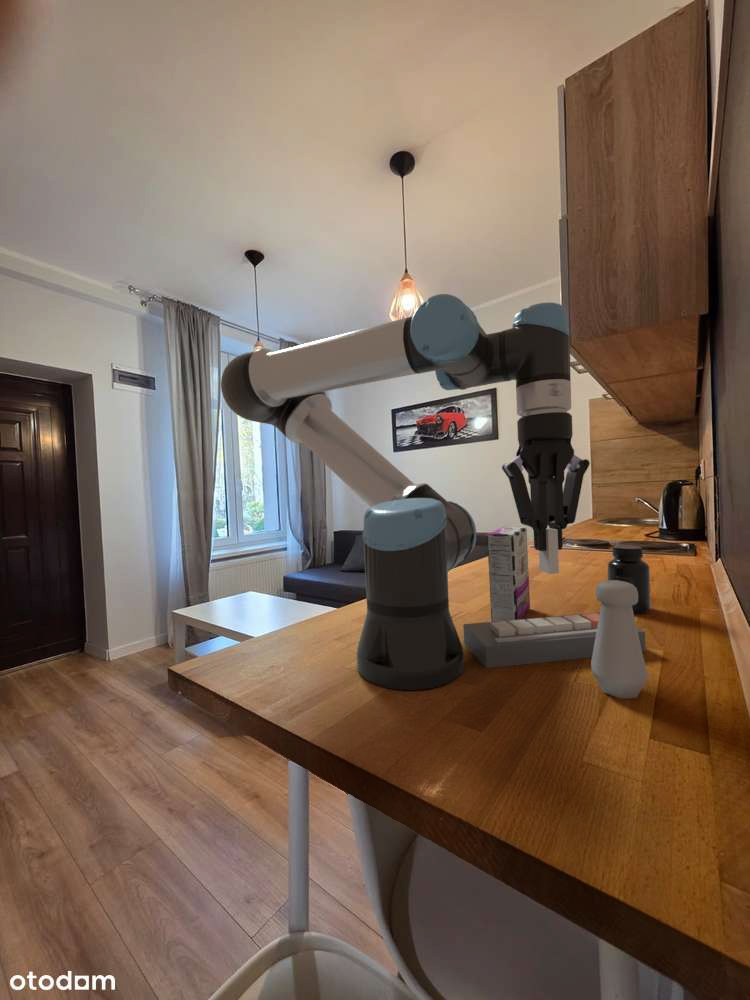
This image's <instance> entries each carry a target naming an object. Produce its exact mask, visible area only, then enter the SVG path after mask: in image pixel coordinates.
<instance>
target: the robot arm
mask: <svg viewBox="0 0 750 1000" xmlns="http://www.w3.org/2000/svg"><path fill="white" fill-rule="evenodd" d="M570 335H571V334H570V326H569V313H568V311H567V309H566V307H565V306H563V305H562V304H560V303H556V302H540V303H535V304H532V305H530V306H529V307H527V308H523V309H521V310H520V311H518V312H517V313H516V314H515V316H514V318H513V324H512V328H508V329H505V330H501V331H498V332H493V333H486V332H485V330H484V329H483V327H482V326H481V325H480V322H479V321H478V318H477V316H476V315H475V312H474V311H473V310H472V309H471V307H469V306H468V305H466V304H465V302H464V301H462V300H461V299H460V298H459V297H457V296H456V295H453V294H448V293H440V294H436V295H433V296H430V297H429V298H427V299H426V300H425V301H423V303H422V304H420V305H419V306H418V307H417V309H416V310H415V311H414V314H413V315H412V316H408V317H403V318H399V319H397V320H392V321H388V322H385V323H381V324H377V325H373V326H368V327H366V328H365V327H364V328H361V329H358V330H354V331H350V332H346V333H342V334H339V335H338V334H337V335H335V336H331V337H328V338H323V339H319V340H315V341H311V342H307V343H304V344H299V345H296V346H293V347H288V348H285V349H280V350H277V351H274V350H272V349H270V348H268V347H267V348H265V347H262V348H258V349H255V350H250V351H247V352H244V353H241V354H240V355H238V356H237V355H236V356H235V358H233V359H231V361H229V362H228V364H227V365H225V368H224V370H223V372H222V376H221V379H220V380H221V381H220V389H221V394H222V397H223V400H224V401H225V403H226V405H227V406H228V407H229V408H230V410H231V411H232V412H233V413H234V414H236V415H237V416H239V417H240V418H243V419H245V420H247V421H251V422H257V423H262V424H268V425H271V426H274V427H275V428H277V430H278V431H279V432H280V433H281V434H282V435H284V436H285V438H287V440H288V441H290V442H292V443H293V444H301V443H303V444H304V446H306V447H307V448H308V449H309V450H310V451H311V452H312V453H313V454H314V455H315V456H316V457H317V458H319V460H321V462H322V463H324V464H325V466H327V468H329V469H330V470H331V471H332V472H333V473H334V474H335V475H336V476H337V477H338V478H339V479H340V480H342V482H343V483H345V485H347V486H348V487H349V488H350V489H351V491H353V492H354V493H355V494H356V495H357V496H358V497H359V498H360V499H361V500H362V501H364V502H365V504H366V505H367V506H368V508H367V509H366V510H365V513H364V515H363V529H362V533H361V534H362V535H361V536H362V541H363V552H364V553H363V554H364V557H363V558H364V573H365V594H366V615H365V620H364V623H363V626H362V629H361V635H360V637H359V641H358V645H357V650H356V664H357V665H356V667H357V668H356V669H357V671H358V673H359V674H360V676H362V677H363V678H364V679H365V680H367V681H368V682H369V683H370V682H371V683H372V684H375V685H377V686H380V687H383V688H388V689H392V690H402V691H415V690H416V691H417V690H418V691H420V690H428V689H433V688H437V687H441V686H444V685H446V684H449V683H451V682H452V681H455V679H457V678H458V677H460V675H462V672H463V670H464V668H465V664H464V663H465V660H464V650H463V649H464V648H463V646H462V643H461V640H460V637H459V635H458V631H457V628H456V626H455V623H454V621H453V617H452V615H451V611H450V603H449V576H448V575H449V574H448V573H449V572H450V571H451V570H453V569H455V568H457V567H459V566H461V565H462V564H463V563H464V562H465V561H466V559H468V557H470V555H471V553H472V552H473V550H474V548H475V545H476V542H477V529H476V527H477V526H476V524H475V520H474V519H473V517H472V515H471V514H470V512H468V510H467V509H465V507H463V506H461V505H460V504H458V503H456V502H454V501H450V500H446V499H445V498H444V497H443V496H442V495H441V494H440V493H438V491H436V490H435V489H434V488H433V487H431V486H430V485H429V484H428V483H426V482H424V483H414V482H413V481H411V480H410V479H409V478H408V477H407V476H406V475H405V474H404V473H403V472H401V470H399V469H398V468H397V467H396V466H395V465H393V464H392V463H391V462H390V461H389V460H388V459H387V458H385V457H384V456H383V455H382V454H381V453H380V452H379V451H377V449H376V448H374V447H373V446H372V445H371V444H369V443H368V441H366V439H364V438H363V437H362V436H360V434H359V433H357V432H356V430H354V429H353V428H352V427H350V426H349V425H348V423H346V422H345V421H344V420H343V419H342V418H340V417H339V416H338V415H337V414H336V413H334V411H332V410H333V409H332V408H333V406H332V402H331V399H330V398H329V397H328V395H327V394H326V391H327V392H328V391H333V390H338V389H343V388H349V387H353V386H354V387H355V386H358V385H365V384H369V383H374V382H375V383H376V382H382V381H386V380H390V379H395V378H396V379H397V378H401V377H407V376H412V375H413V376H414V375H417V374H418V375H419V374H424V373H429V372H434V373H435V375H436V376H435V377H436V379H437V382H438V383H439V386H440V387H441V388H442V389H443V390H445V391H453V390H461V391H462V390H463V391H464V390H467V389H470V388H476V387H480V386H487V385H491V384H492V385H493V384H498V383H504V382H509V381H515V390H516V391H515V392H516V393H515V394H516V396H515V397H516V415H517V416H519V417H520V418H518V420H517V421H516V423H517V424H516V425H517V442H518V448H517V451H516V453H515V455H516V457H514V458H513V459H512V460H511V461H509V462H507V463H503V464H502V466H501V469H502V471H503V472H504V473H505V475H506V477H507V478H508V481H509V484H510V487H511V492H512V496H513V499H514V502H515V503H514V504H515V506H516V510H517V511H516V512H517V514H518V518H519V521H520V524H521V525H524V526H527V527H529V528H532V531H533V547H534V549H535V550H536V551H538V555H539V557H538V558H539V559H538V560H539V563H538V564H539V571H540V572H543V573H546V574H549V575H550V574H552V575H553V574H559V573H560V568H559V567H560V565H559V563H560V562H559V551H560V550H562V549H563V546H564V545H563V542H564V541H563V530H564V529H566V528H567V527H568V525H570V524H574V523H575V521H576V516H577V511H578V507H579V502H580V496H581V491H582V486H583V480H584V476H585V474H586V472H587V470H588V469H589V466H590V464H591V463H590V461H589V459H586V458H585V459H582V458H580V457H579V456H577V455H576V454H575V449H574V448H573V446H572V442H571V441H572V438H573V434H574V433H573V415H572V414H571V413H569V411H570V410H571V409H572V388H571V387H572V386H571V385H572V382H571V337H570ZM566 469H567V473H566V475H565V470H566ZM523 470H524V471H525V472H526V473H527V474H528V475H527V476H528V478H527V479H528V483H529V485H530V486H529V487H530V488H529V489H530V494H529V491H528V486H527V483H526V478H525V476H524V473H523ZM563 485H564V486H563Z"/></svg>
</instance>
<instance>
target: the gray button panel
mask: <svg viewBox="0 0 750 1000" xmlns="http://www.w3.org/2000/svg"><path fill="white" fill-rule="evenodd" d="M599 615H600V611H598V612H588V613H587V612H586V613H577V614H567V615H565V614H564V615H556V616H555V615H554V616H543V617H532V618H531V617H530V618H522V619H518V620H506V621H495V622H492V621H487V622H475V623H473V622H472V623H463V625H462V626H463V627H462V628H463V643H464V645H466V647H467V648H468V649H469V650H470V651H471V653H472V654H473V655H474V656H475V657H476V658H477V659H478V660H479V662H481V664H482V665H483V666H484V667H485V668H486V669H490V668H491V669H493V668H502V667H513V666H520V665H522V666H523V665H531V664H533V665H534V664H541V663H552V662H560V661H570V660H571V661H572V660H580V659H581V660H582V659H590V658H591V659H592V655H593V649H594V643H595V638H596V632H597V626H598V620H599ZM637 631H638V636H639V640H640V645H641V649H642V653H646V631H645V630H642V629H640V628H638V627H637Z"/></svg>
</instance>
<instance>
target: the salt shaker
mask: <svg viewBox="0 0 750 1000" xmlns="http://www.w3.org/2000/svg"><path fill="white" fill-rule="evenodd" d="M595 596H596V599H597V601H598V602H600V603H601V604H600V609H599V610H600V611H599V612H600V615H599V620H598V626H597V632H596V638H595V643H594V649H593V655H592V658H591V662H590V665H591V667H590V668H591V672H592V675H593V676H594V678H595V679H596V681H597V683H598V685H599V687H600V689H601V690H602V692H603V693H604V694H607V695H610V696H612V697H615V698H618V699H621V700H624V699H637V698H638V697H639V695H640V693H641V691H642V690H643V688H644V687H645V685H646V683H647V682H648V678H649V675H648V671H647V667H646V663H645V662H646V661H645V659H644V654H643V652H642V649H641V645H640V640H639V636H638V631H637V628H638V626H637V622H636V618H635V615H634V614H635V613H633V609H632V605H635V604H637V602H638V592H637V588H636V587H635V586H634V585H633V584H630V583H627V582H623V581H617V580H608V579H607V580H602V581H600V582H598V583H597V584H596V587H595Z"/></svg>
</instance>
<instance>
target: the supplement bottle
mask: <svg viewBox="0 0 750 1000" xmlns="http://www.w3.org/2000/svg"><path fill="white" fill-rule="evenodd" d="M612 556H613V557H614V558H613V559H611V560H609V562H608V563H607V581H608V580H617V581H623V582H627V583H630V584H633V585H634V586H635V587H636V588H637V592H638V602H637V604H635V605H632V609H633V613H634V614H647V613H649V611H651V604H652V603H651V602H652V601H651V573H650V572H651V571H650V570H651V569H650V566H649V564H648V563H647V562H646V561H644V560H642V559H643V558H644V553H643V547H641V546H638V545H637V546H636V545H626V544H625V545H624V544H623V545H615V546H612Z"/></svg>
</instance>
